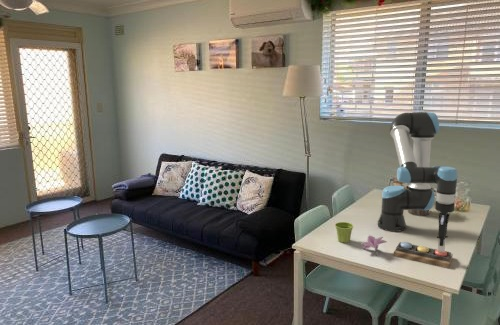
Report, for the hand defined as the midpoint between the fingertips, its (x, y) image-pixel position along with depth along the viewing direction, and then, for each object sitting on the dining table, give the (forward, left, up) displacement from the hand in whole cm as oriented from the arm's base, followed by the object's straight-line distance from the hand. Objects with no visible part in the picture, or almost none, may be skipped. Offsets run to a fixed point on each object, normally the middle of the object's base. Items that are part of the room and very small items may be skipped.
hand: (441, 251), depth 170 cm
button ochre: (-8, 0, -2) cm, 8 cm away
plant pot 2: (-22, +65, -5) cm, 69 cm away
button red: (0, 0, -2) cm, 2 cm away
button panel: (-8, 0, -5) cm, 9 cm away
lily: (-29, -7, -5) cm, 30 cm away
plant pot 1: (-46, -1, -5) cm, 46 cm away
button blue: (-15, 0, -1) cm, 15 cm away
